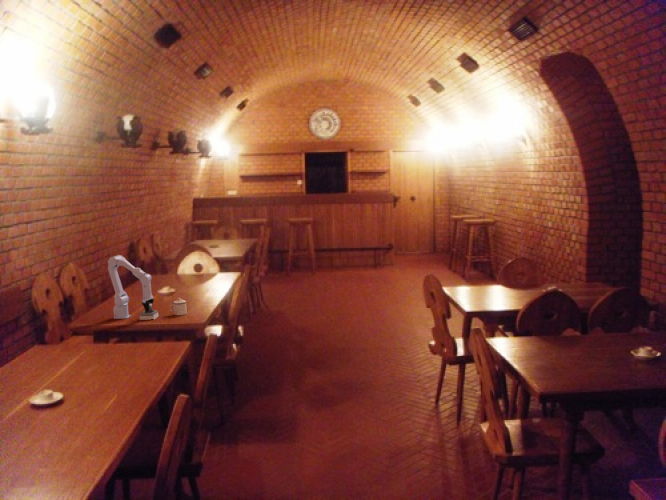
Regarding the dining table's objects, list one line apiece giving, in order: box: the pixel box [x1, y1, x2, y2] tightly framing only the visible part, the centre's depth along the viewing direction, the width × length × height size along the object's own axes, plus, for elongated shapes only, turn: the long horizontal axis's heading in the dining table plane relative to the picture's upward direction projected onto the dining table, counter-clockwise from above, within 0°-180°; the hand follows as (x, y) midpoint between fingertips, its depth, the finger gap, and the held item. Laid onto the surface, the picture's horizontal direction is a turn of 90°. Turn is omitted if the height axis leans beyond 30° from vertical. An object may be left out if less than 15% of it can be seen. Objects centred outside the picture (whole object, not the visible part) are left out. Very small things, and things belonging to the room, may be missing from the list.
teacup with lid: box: [168, 297, 188, 316], centre depth 420 cm, size 12×9×12 cm
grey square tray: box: [139, 309, 159, 321], centre depth 413 cm, size 10×9×4 cm
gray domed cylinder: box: [144, 303, 154, 313], centre depth 412 cm, size 5×5×6 cm
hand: (148, 310), depth 412 cm, fingers closed on gray domed cylinder, 5 cm apart
